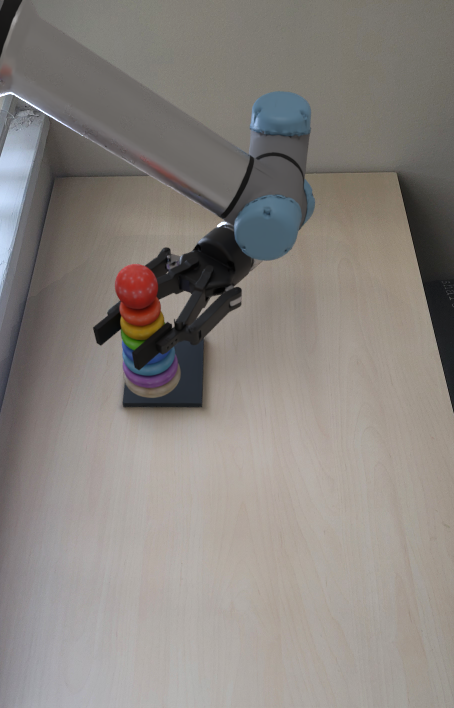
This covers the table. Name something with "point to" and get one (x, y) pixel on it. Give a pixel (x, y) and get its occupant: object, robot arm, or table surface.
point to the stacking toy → (143, 332)
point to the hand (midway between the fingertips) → (116, 348)
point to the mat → (187, 387)
